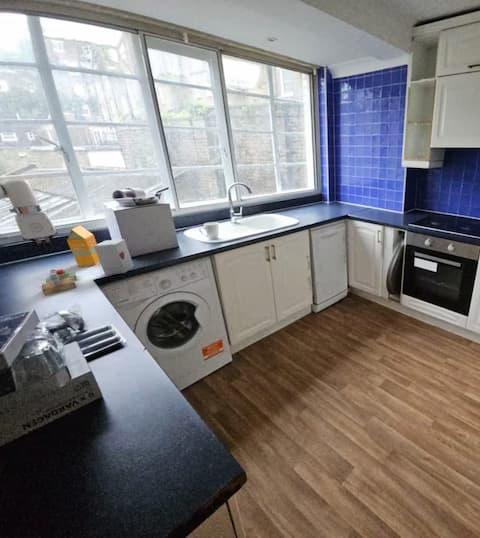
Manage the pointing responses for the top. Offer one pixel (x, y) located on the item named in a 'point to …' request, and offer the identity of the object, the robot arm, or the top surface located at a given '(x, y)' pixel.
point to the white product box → (114, 256)
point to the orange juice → (83, 246)
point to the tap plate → (58, 286)
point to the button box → (63, 276)
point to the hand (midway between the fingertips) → (48, 250)
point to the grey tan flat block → (55, 277)
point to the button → (60, 272)
